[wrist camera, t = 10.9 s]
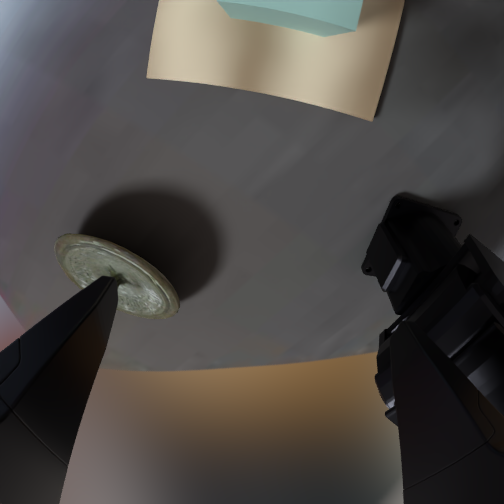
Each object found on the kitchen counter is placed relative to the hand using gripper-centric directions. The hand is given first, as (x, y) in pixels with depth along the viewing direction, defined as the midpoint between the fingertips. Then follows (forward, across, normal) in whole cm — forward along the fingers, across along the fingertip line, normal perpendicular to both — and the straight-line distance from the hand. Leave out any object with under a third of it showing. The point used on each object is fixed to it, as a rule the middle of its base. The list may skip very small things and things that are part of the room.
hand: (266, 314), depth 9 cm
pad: (+12, +1, -11) cm, 16 cm away
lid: (+12, +9, +10) cm, 18 cm away
